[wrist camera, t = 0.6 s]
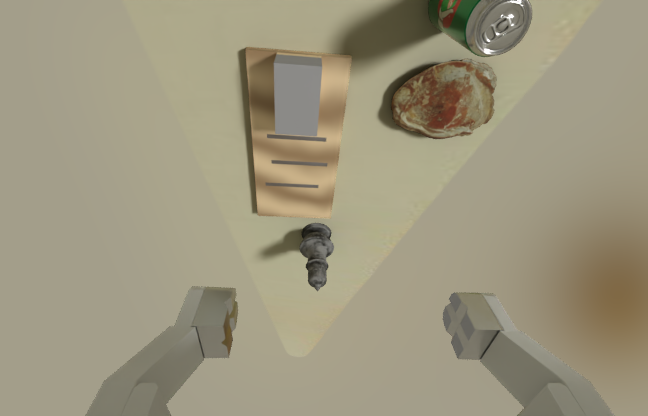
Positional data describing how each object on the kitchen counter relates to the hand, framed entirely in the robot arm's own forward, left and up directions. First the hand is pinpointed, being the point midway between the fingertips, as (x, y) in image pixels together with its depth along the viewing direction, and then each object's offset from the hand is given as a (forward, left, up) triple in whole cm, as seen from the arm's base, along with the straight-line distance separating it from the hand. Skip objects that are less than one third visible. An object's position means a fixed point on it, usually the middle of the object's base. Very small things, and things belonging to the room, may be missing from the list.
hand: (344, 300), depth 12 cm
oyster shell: (+4, +16, -33) cm, 37 cm away
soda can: (-6, +13, -33) cm, 36 cm away
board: (+12, -3, -33) cm, 35 cm away
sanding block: (+4, -3, -31) cm, 32 cm away
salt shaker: (+30, +1, -33) cm, 44 cm away
